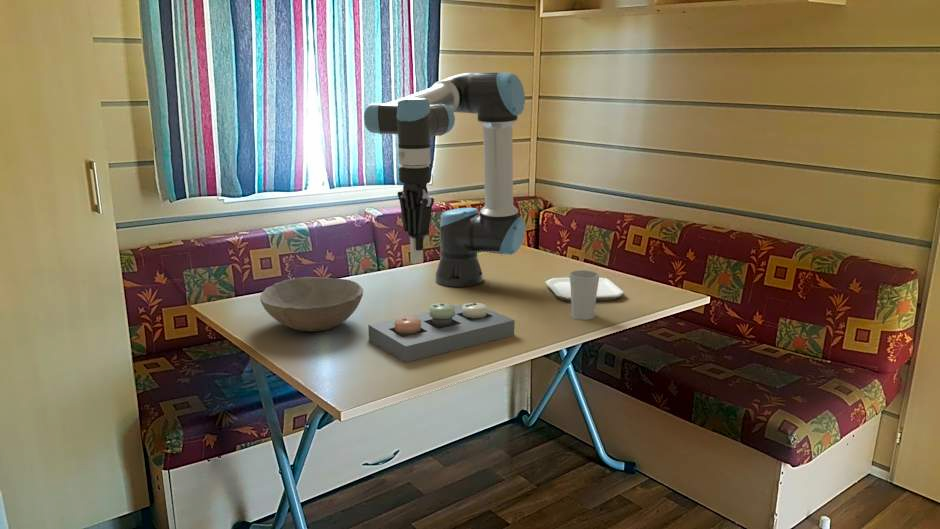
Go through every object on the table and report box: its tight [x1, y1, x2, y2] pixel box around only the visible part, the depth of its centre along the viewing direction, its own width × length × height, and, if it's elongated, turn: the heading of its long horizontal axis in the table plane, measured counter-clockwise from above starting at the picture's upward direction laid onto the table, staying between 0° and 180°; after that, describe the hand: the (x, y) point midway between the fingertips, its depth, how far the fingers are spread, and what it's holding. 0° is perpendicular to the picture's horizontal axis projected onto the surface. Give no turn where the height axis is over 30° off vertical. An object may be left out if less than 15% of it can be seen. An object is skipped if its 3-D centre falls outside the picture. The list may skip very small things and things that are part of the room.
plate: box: [545, 276, 625, 302], centre depth 222 cm, size 21×21×2 cm
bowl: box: [259, 276, 364, 332], centre depth 189 cm, size 26×26×10 cm
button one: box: [395, 316, 421, 337], centre depth 177 cm, size 6×6×5 cm
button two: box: [428, 302, 456, 329], centre depth 182 cm, size 6×6×5 cm
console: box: [367, 301, 516, 363], centre depth 183 cm, size 18×32×4 cm, turn 126°
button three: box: [462, 302, 488, 321], centre depth 188 cm, size 6×6×5 cm
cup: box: [569, 269, 600, 321], centre depth 199 cm, size 8×8×12 cm
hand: (416, 262), depth 177 cm, fingers closed
